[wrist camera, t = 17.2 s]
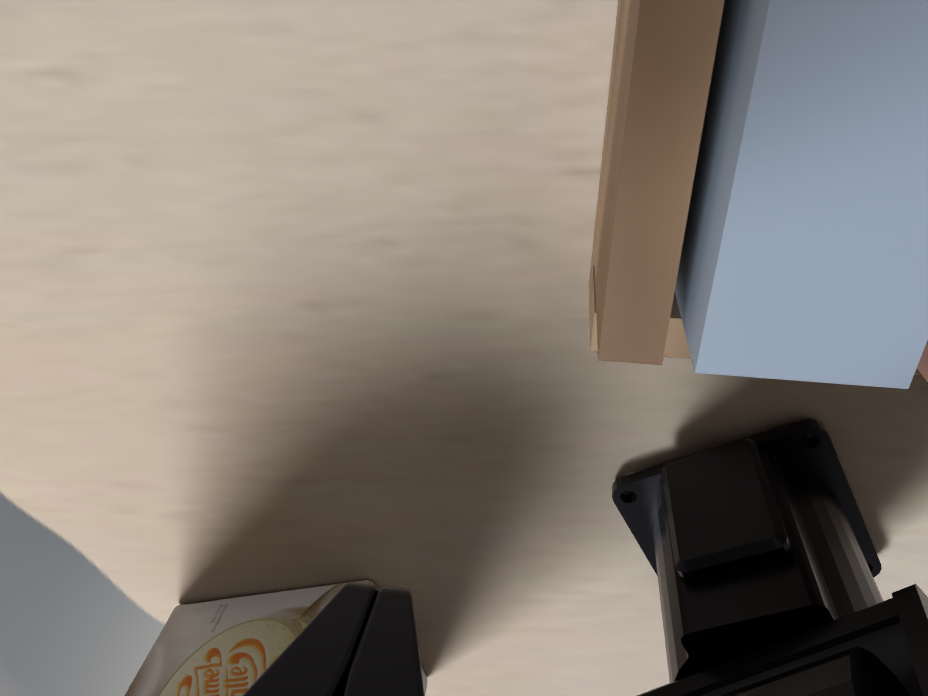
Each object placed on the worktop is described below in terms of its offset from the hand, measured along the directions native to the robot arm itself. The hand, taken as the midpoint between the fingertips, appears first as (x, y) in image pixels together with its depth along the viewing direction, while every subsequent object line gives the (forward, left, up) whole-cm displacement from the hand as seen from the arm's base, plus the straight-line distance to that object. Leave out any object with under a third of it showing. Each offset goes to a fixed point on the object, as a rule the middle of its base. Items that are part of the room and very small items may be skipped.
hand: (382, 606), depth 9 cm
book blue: (+1, -7, -11) cm, 13 cm away
